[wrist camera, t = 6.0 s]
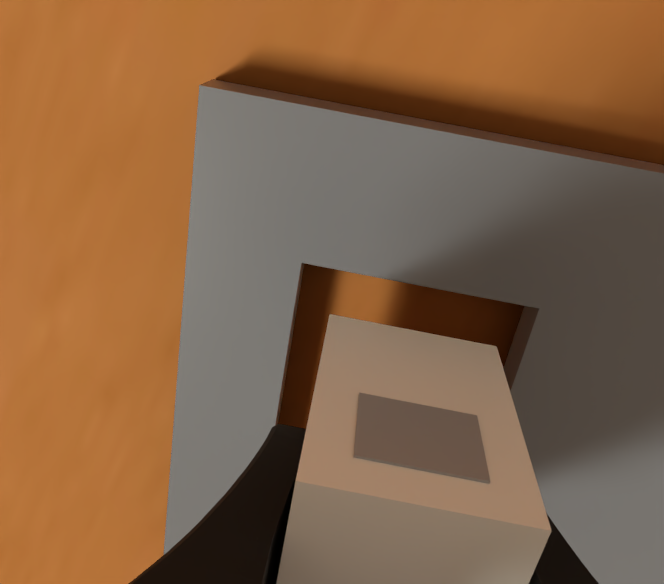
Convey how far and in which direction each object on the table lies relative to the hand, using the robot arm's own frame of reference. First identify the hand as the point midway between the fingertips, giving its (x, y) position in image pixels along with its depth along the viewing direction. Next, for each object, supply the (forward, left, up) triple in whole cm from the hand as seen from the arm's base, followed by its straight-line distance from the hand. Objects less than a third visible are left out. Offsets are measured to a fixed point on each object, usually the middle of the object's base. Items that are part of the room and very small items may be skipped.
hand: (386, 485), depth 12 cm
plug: (0, 0, -2) cm, 2 cm away
